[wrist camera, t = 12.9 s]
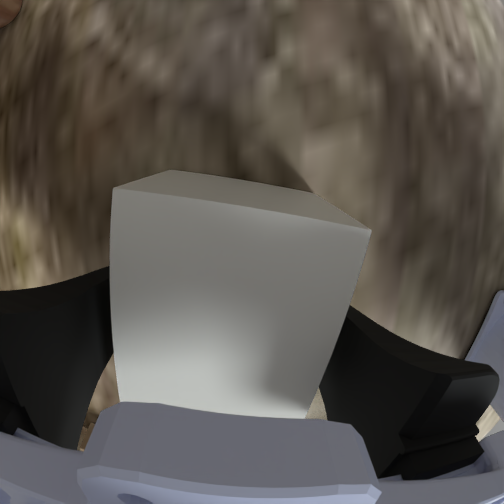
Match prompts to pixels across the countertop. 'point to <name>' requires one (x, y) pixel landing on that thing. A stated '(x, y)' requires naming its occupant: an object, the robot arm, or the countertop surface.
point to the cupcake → (9, 11)
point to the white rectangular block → (228, 292)
